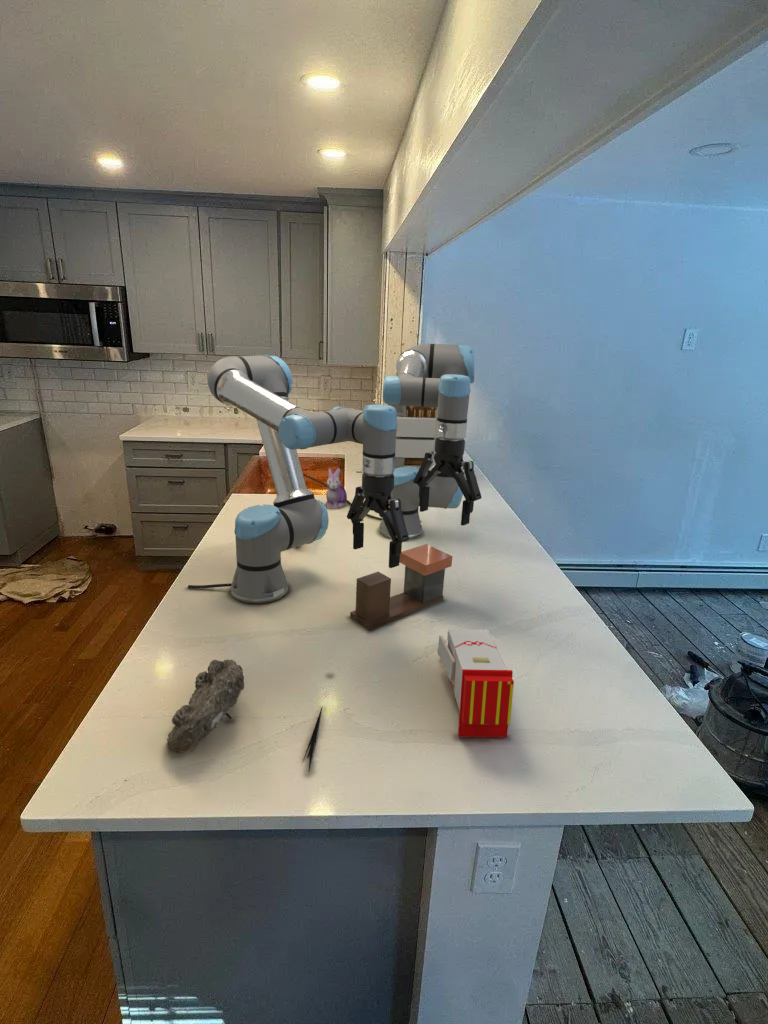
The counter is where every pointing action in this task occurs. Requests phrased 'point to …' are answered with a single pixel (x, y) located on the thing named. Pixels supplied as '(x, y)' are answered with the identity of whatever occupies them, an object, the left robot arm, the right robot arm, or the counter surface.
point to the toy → (478, 682)
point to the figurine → (335, 491)
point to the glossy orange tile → (425, 559)
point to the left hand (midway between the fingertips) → (375, 557)
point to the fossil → (206, 705)
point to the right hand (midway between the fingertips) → (443, 517)
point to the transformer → (414, 434)
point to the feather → (313, 740)
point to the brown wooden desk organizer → (395, 597)
